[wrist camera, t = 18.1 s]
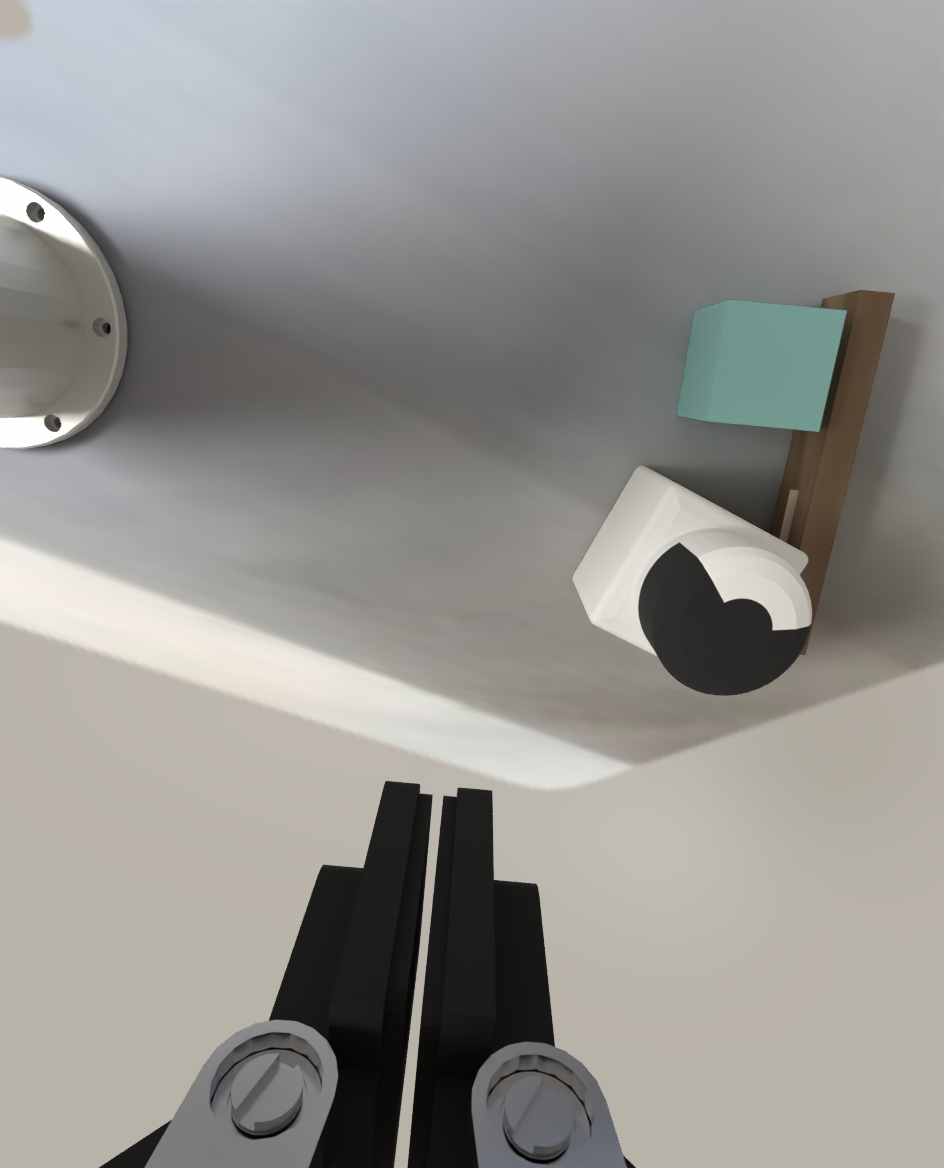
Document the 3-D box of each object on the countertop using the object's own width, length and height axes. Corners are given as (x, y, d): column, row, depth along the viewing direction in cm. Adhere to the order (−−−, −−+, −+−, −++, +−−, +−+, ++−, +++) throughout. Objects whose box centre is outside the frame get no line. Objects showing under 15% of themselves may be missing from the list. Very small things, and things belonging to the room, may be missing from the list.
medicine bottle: (680, 636, 38) (764, 746, 27) (569, 579, 38) (605, 667, 26) (753, 524, 36) (876, 591, 25) (637, 462, 36) (709, 501, 24)
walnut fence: (742, 627, 38) (767, 651, 35) (814, 298, 33) (851, 289, 30) (777, 630, 38) (805, 654, 35) (853, 302, 33) (894, 293, 30)
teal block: (676, 415, 35) (706, 421, 30) (693, 310, 34) (728, 299, 29) (773, 424, 35) (819, 431, 30) (795, 320, 34) (846, 310, 29)
